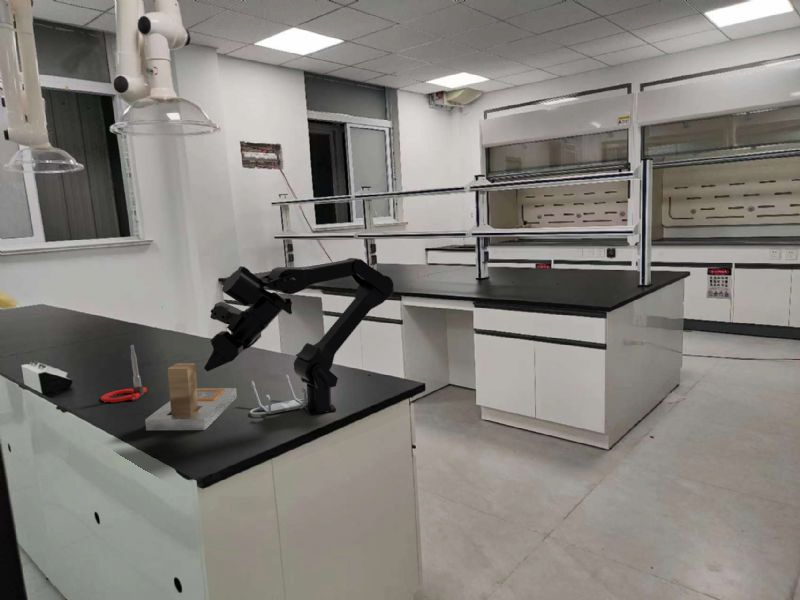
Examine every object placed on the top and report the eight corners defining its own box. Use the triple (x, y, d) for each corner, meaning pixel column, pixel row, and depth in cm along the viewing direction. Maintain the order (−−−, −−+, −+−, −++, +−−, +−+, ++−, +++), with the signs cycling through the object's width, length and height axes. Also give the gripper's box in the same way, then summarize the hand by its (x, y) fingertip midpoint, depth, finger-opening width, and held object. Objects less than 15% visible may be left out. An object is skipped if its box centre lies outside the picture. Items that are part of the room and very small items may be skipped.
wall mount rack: (256, 421, 125) (254, 396, 124) (240, 405, 136) (238, 382, 135) (320, 407, 133) (319, 384, 132) (299, 394, 144) (298, 372, 143)
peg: (191, 424, 124) (187, 368, 122) (172, 424, 124) (167, 368, 122) (199, 417, 128) (195, 363, 126) (180, 417, 128) (176, 363, 126)
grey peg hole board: (204, 430, 120) (203, 417, 120) (146, 430, 121) (145, 418, 120) (236, 397, 142) (236, 386, 142) (186, 397, 142) (186, 387, 142)
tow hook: (95, 405, 139) (135, 402, 140) (87, 352, 137) (128, 348, 138) (110, 394, 148) (149, 391, 149) (103, 344, 146) (142, 341, 147)
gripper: (245, 284, 130) (202, 331, 132) (217, 296, 112) (168, 349, 114) (279, 317, 131) (236, 362, 133) (258, 333, 113) (208, 386, 115)
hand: (213, 364), depth 124 cm, fingers open, 9 cm apart
